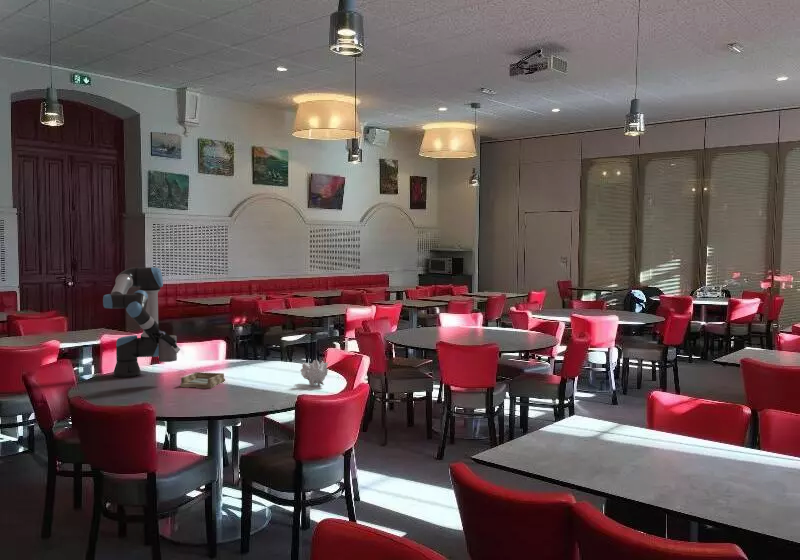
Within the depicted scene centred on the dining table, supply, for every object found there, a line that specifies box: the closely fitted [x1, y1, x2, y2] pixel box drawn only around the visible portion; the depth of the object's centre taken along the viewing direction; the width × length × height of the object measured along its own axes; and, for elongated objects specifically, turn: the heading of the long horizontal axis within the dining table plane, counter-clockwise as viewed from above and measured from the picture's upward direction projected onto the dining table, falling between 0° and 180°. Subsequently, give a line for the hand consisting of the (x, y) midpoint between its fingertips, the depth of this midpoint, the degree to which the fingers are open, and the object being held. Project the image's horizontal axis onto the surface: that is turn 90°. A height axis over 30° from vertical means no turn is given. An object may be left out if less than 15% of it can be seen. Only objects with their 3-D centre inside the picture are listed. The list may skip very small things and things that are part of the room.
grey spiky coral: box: [300, 358, 329, 387], centre depth 373 cm, size 20×17×15 cm
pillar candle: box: [158, 334, 178, 363], centre depth 371 cm, size 10×10×15 cm
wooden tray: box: [179, 372, 226, 389], centre depth 373 cm, size 18×18×5 cm
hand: (172, 350), depth 373 cm, fingers closed on pillar candle, 9 cm apart
